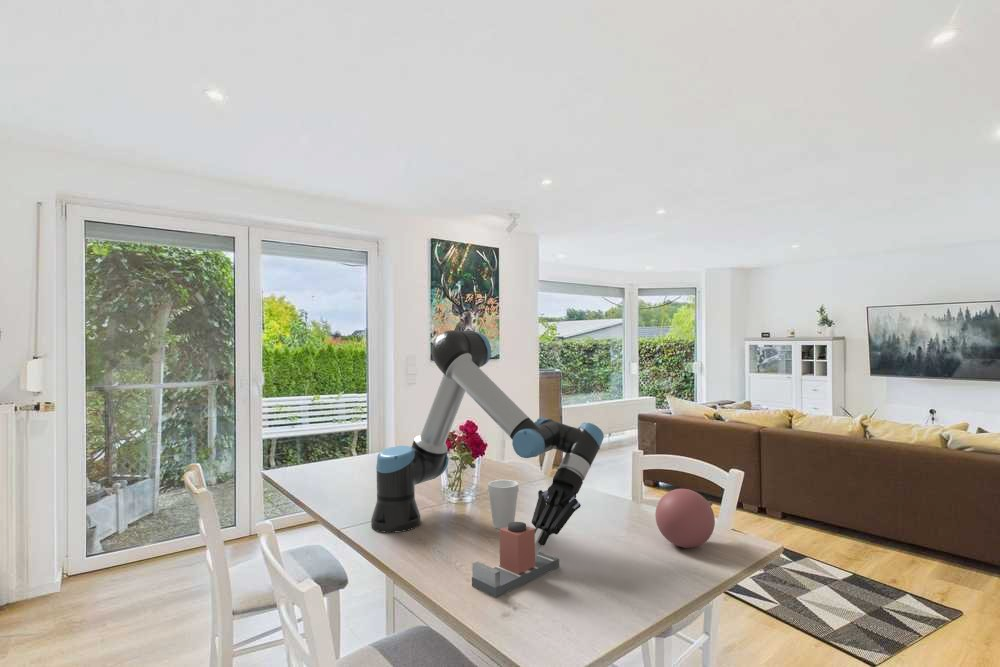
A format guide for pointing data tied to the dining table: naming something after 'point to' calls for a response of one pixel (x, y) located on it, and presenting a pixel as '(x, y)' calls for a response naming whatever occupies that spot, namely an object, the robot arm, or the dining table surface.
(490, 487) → the foam cup
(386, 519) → the robot arm
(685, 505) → the balloon
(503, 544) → the plug
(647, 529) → the dining table surface
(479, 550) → the dining table surface
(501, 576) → the track
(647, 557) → the dining table surface
